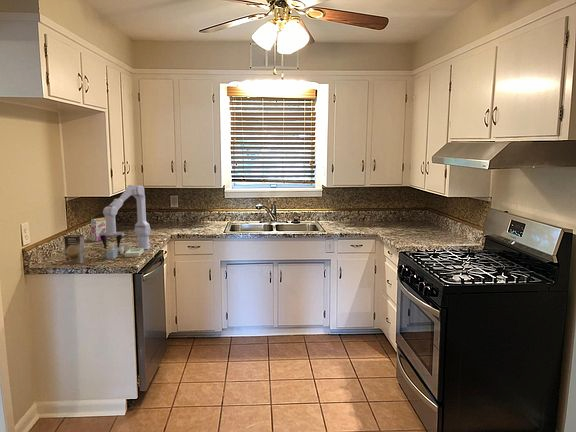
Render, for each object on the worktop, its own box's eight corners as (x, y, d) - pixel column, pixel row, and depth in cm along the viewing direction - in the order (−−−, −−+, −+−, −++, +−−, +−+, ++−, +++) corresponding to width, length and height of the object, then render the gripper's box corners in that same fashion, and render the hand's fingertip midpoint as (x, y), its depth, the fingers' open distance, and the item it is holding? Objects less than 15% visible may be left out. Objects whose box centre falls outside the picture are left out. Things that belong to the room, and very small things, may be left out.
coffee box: (65, 263, 261) (63, 236, 259) (70, 261, 267) (68, 234, 265) (81, 263, 261) (79, 236, 259) (85, 260, 267) (84, 234, 265)
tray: (130, 252, 292) (130, 248, 292) (143, 251, 293) (143, 248, 293) (124, 257, 278) (124, 253, 277) (138, 256, 279) (138, 252, 278)
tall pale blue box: (111, 255, 282) (110, 244, 281) (117, 255, 283) (117, 244, 282) (106, 259, 272) (105, 247, 271) (113, 259, 273) (112, 247, 272)
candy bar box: (96, 241, 325) (94, 219, 323) (91, 241, 328) (90, 219, 325) (108, 239, 335) (107, 217, 333) (104, 238, 337) (102, 217, 335)
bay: (109, 251, 295) (109, 243, 294) (130, 250, 296) (129, 243, 296) (105, 254, 286) (105, 246, 285) (126, 253, 288) (126, 245, 287)
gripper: (96, 227, 270) (97, 248, 272) (121, 226, 272) (122, 248, 274) (100, 225, 277) (101, 246, 279) (124, 224, 279) (125, 246, 281)
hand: (112, 247), depth 277 cm, fingers open, 7 cm apart
